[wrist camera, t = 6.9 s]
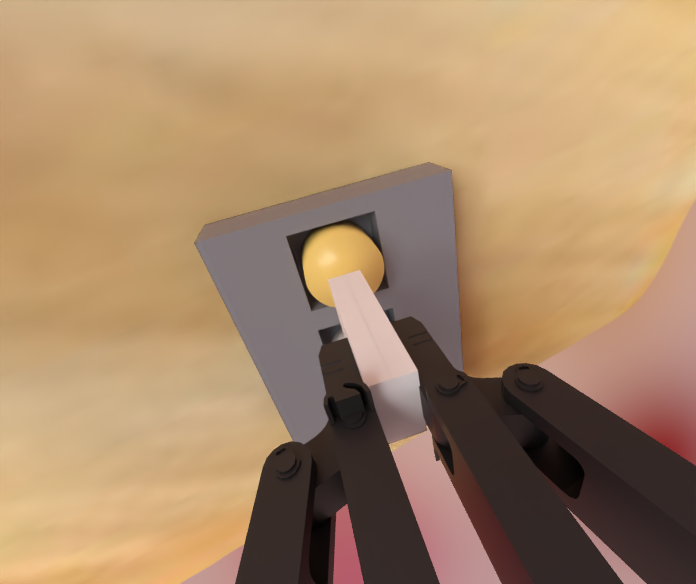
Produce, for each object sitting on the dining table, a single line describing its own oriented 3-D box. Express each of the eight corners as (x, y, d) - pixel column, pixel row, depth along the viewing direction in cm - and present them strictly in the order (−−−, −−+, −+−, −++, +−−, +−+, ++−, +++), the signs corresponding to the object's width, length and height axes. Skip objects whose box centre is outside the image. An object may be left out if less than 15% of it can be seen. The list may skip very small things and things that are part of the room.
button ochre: (291, 230, 19) (294, 248, 17) (363, 210, 20) (376, 224, 17) (312, 293, 22) (317, 317, 19) (377, 274, 22) (390, 295, 19)
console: (204, 225, 20) (194, 242, 17) (428, 162, 20) (451, 170, 18) (302, 434, 30) (305, 465, 27) (449, 386, 31) (465, 412, 28)
